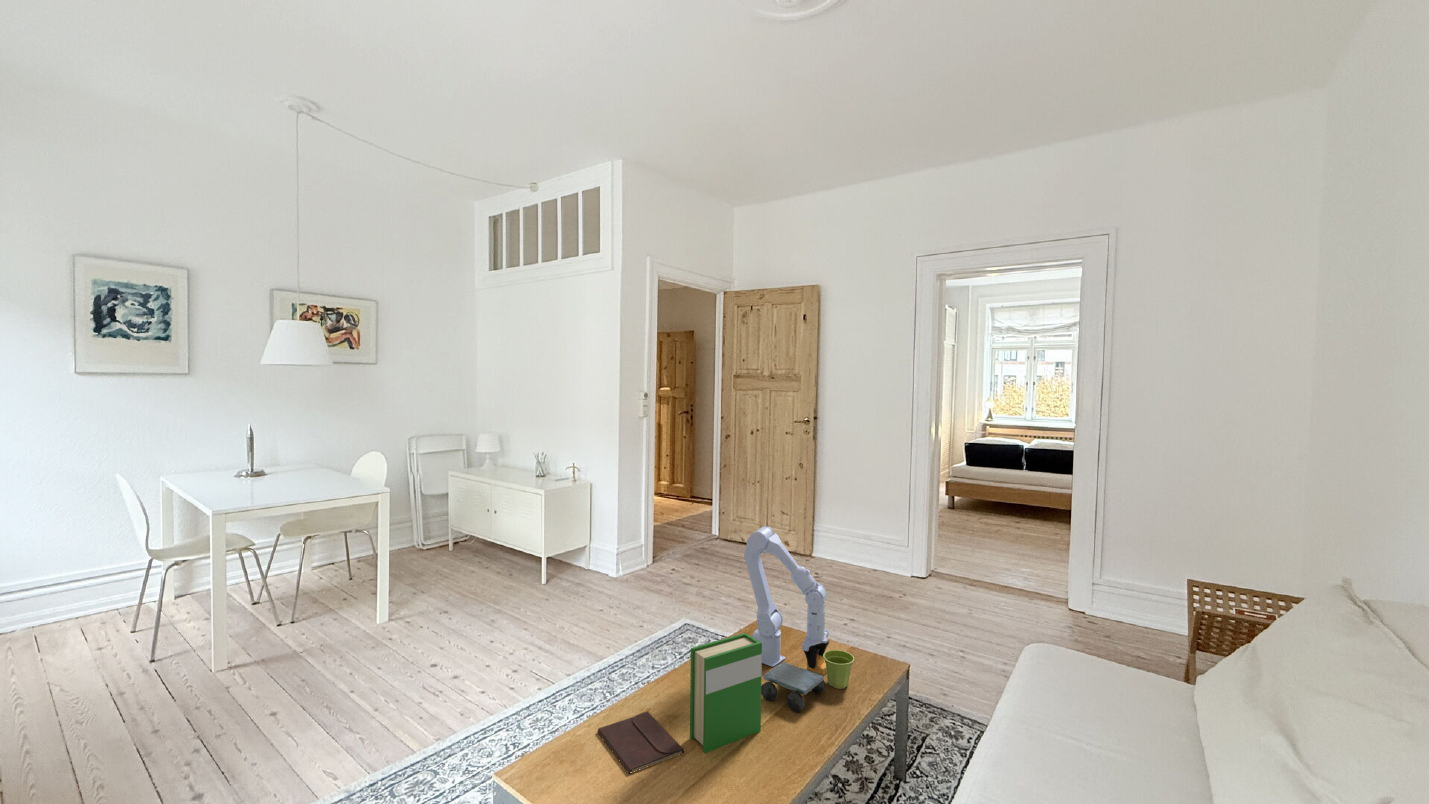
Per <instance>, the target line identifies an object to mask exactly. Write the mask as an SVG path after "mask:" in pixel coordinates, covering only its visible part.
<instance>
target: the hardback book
mask: <svg viewBox="0 0 1429 804" xmlns="http://www.w3.org/2000/svg"><path fill="white" fill-rule="evenodd" d="M762 664H763V663H762V642H760V641H758V640H757V639H755V638H753V637H752V636H751V635H750V634H748V633H746V632H743V633H740V634H736V635H732V636H729V637H725V638H721V639H719V640H715V641H710V642H707V643H703V644H700V645H697V646H693V647H690V674H689V675H690V680H689V681H690V683H689V684H690V685H689V687H690V689H689V691H690V692H689V693H690V694H689V695H690V696H689V697H690V699H689V706H690V707H689V739H690V741H693V740H696V741H697V742H699V743H700V744H701V745H702V746H703V747H702V748H703V749H702V752H703V753H704V754H707V753H710V752H712V751H714V750H717V749H720V748H722V747H724V746H726V745H730V744H731V743H732V744H733V743H734V742H737V741H739V740H742V739H744V738H747V737H750V736H751V735H754V734H757V733H759V732H761V730H762V729H761V725H762V694H761V686H762V670H763V669H762V668H763V667H762Z"/></svg>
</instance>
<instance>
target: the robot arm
mask: <svg viewBox="0 0 1429 804" xmlns="http://www.w3.org/2000/svg"><path fill="white" fill-rule="evenodd" d="M763 553H766V554H771V555H775V556H776V558H778V560H779V561H780V562H781V563H782V564H783V566H785V567H786V569H787V570H788V571H789V572H790V579H791V580H792V581H793V583H794V584H795V585H796V587H797V588H798V589H799V590H800V592H802V594H803V595H804V596H805V598H804V600H805V602H806V604H807V612H806V614H807V615H806V634H805V638H804V641H803V642H802V643H801V651H803V653H804V655H805V659H806V663H807V662H808V667H810V668H813V669H814V668H815V666H816V659H817V655H820V656H823V654H824V653H825V652H826V649H827V648H828V646H829V644H830V641H829V640H828V637H829V635H830V630H829V629H826V627H825V626H826V606H825V605H826V602H825V601H826V599H827V597H828V592H827V589H826V587H825V586H824V585H822V584H820V583H819V582H818V581H816V580H815V578H814V577H813V576H812V575H811V571H810V569H808V568H806V567H805V566H801V565H799V564H798V562H797V561H796V560H795V558H794V557H793V556H792V555H791V553H790V552H789V550H788V549H787V548H786V546H785V545H784V544H783V542H782V541H781V539H780V536H779V535H778V534H777V533H776V532H775V531H774V530H773V528H772V527H770V526H768V525H763V526H761V527H760V528H758V529H757V530H756V531H754V532H752V533H751V534H750V535H749V537H748V538H747V539H746V546H745V550H744V552H743V554H744V555H743V556H744V561H745V564H746V569H747V572H748V575H749V579H750V583H751V586H752V592H753V594H754V596H755V597H754V598H755V601H756V605H757V610H756V619H757V625H756V627H757V628H756V629H755V630H754V631H753V634H752V637H753V638H755V639H757V640H758V641H760V642H762V664H763V665H767V666H769V667H771V668H772V667H773V668H775V667H776V666H778V665H779V664H780V663H782V662H784V660H786V657H785V656H784V655H781V646H782V644H781V642H782V641H781V639H782V637H781V634H782V632H781V629H780V627H781V626H782V625H783V622H784V617H783V615H782V613H781V612H780V610H779V609H778V605H777V604H776V603H774V600H773V597H772V593H771V589H770V586H769V582H768V579H767V576H766V571H765V568H764V565H763V561H762V557H761V556H763V555H762V554H763Z"/></svg>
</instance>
